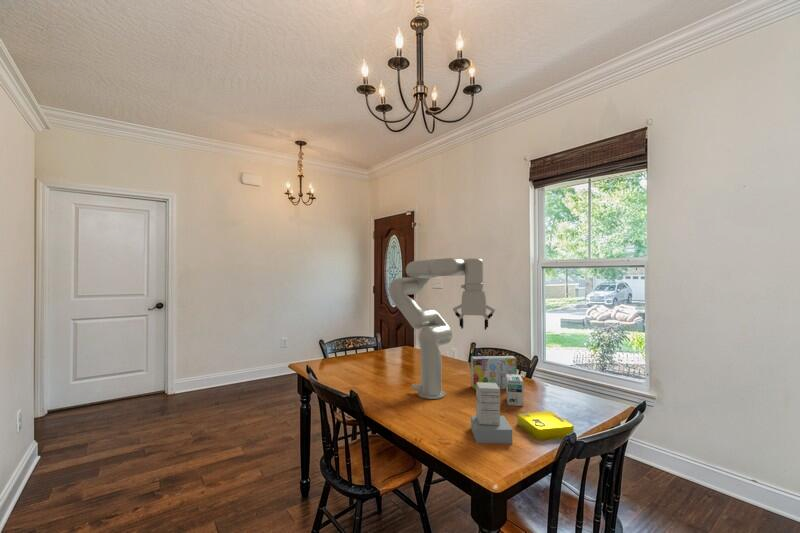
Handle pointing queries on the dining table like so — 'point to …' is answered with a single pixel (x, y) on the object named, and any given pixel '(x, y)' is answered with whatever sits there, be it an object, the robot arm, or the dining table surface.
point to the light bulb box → (515, 390)
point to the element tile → (544, 425)
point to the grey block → (491, 431)
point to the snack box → (492, 369)
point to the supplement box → (488, 403)
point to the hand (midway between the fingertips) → (473, 328)
